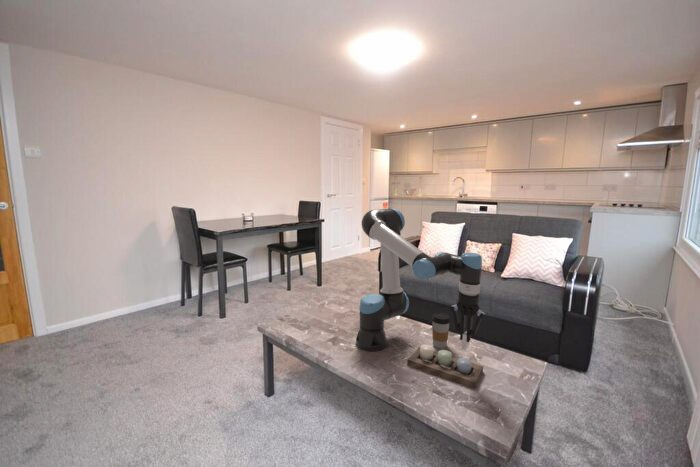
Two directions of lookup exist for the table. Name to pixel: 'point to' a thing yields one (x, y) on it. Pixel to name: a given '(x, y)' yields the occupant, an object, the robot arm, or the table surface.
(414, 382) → the table surface
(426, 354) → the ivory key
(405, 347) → the table surface
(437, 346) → the coffee cup
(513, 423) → the table surface
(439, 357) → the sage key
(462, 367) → the pale blue rounded knob
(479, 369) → the wooden tray
